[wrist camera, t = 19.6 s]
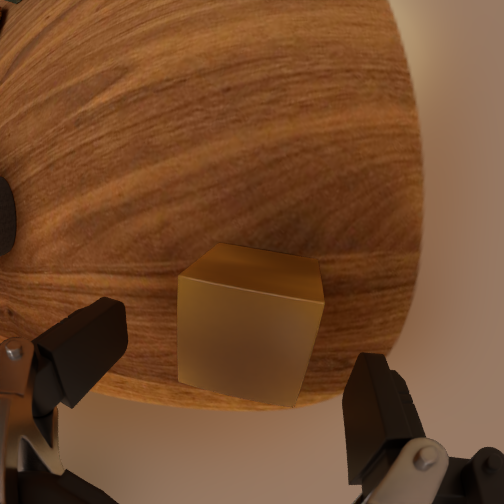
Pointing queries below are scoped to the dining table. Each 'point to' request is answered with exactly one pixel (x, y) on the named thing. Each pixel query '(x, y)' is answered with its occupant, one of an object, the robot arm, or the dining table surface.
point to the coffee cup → (6, 218)
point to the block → (248, 322)
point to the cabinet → (14, 1)
